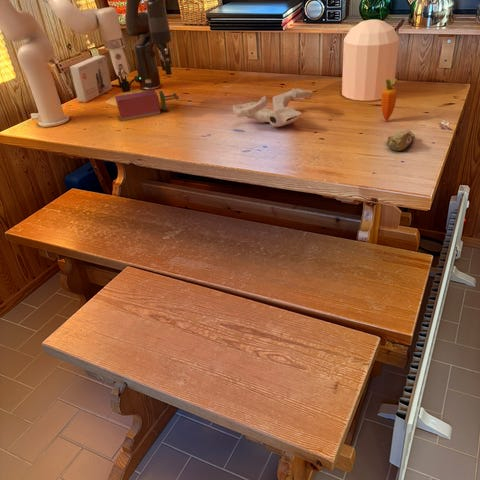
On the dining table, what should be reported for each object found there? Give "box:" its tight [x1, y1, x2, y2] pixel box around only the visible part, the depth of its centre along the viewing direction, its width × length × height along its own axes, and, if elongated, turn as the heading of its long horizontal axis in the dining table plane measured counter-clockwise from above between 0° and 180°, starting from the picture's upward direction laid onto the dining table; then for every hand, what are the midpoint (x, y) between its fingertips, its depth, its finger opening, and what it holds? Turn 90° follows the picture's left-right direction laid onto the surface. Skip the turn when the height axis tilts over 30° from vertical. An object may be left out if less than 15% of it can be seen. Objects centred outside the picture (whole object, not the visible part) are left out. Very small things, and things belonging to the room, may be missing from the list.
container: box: [341, 18, 400, 102], centre depth 185 cm, size 21×21×28 cm
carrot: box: [380, 78, 398, 122], centre depth 161 cm, size 5×5×15 cm
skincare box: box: [69, 54, 113, 103], centre depth 218 cm, size 21×6×16 cm, turn 158°
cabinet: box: [114, 89, 161, 122], centre depth 191 cm, size 16×6×8 cm, turn 109°
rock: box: [387, 129, 416, 152], centre depth 146 cm, size 11×6×10 cm
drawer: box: [157, 90, 180, 111], centre depth 193 cm, size 21×5×7 cm, turn 109°
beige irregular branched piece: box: [231, 88, 314, 128], centre depth 171 cm, size 28×26×12 cm
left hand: (125, 88), depth 186 cm, fingers open, 9 cm apart
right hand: (167, 72), depth 188 cm, fingers open, 7 cm apart
